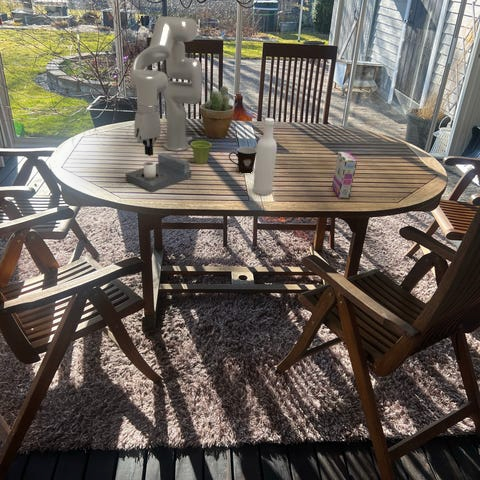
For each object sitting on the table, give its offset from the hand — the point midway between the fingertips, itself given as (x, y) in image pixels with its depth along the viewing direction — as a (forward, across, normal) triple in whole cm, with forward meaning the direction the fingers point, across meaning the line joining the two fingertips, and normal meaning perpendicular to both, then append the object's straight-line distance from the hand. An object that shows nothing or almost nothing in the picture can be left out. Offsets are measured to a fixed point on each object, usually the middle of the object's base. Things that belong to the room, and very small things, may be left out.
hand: (149, 154), depth 183 cm
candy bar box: (+12, -50, +62) cm, 81 cm away
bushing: (+12, 0, 0) cm, 12 cm away
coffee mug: (+12, -39, +18) cm, 45 cm away
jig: (+12, -5, 0) cm, 13 cm away
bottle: (+12, -27, +38) cm, 48 cm away
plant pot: (+12, -33, -2) cm, 35 cm away
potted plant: (+12, -69, -24) cm, 74 cm away
